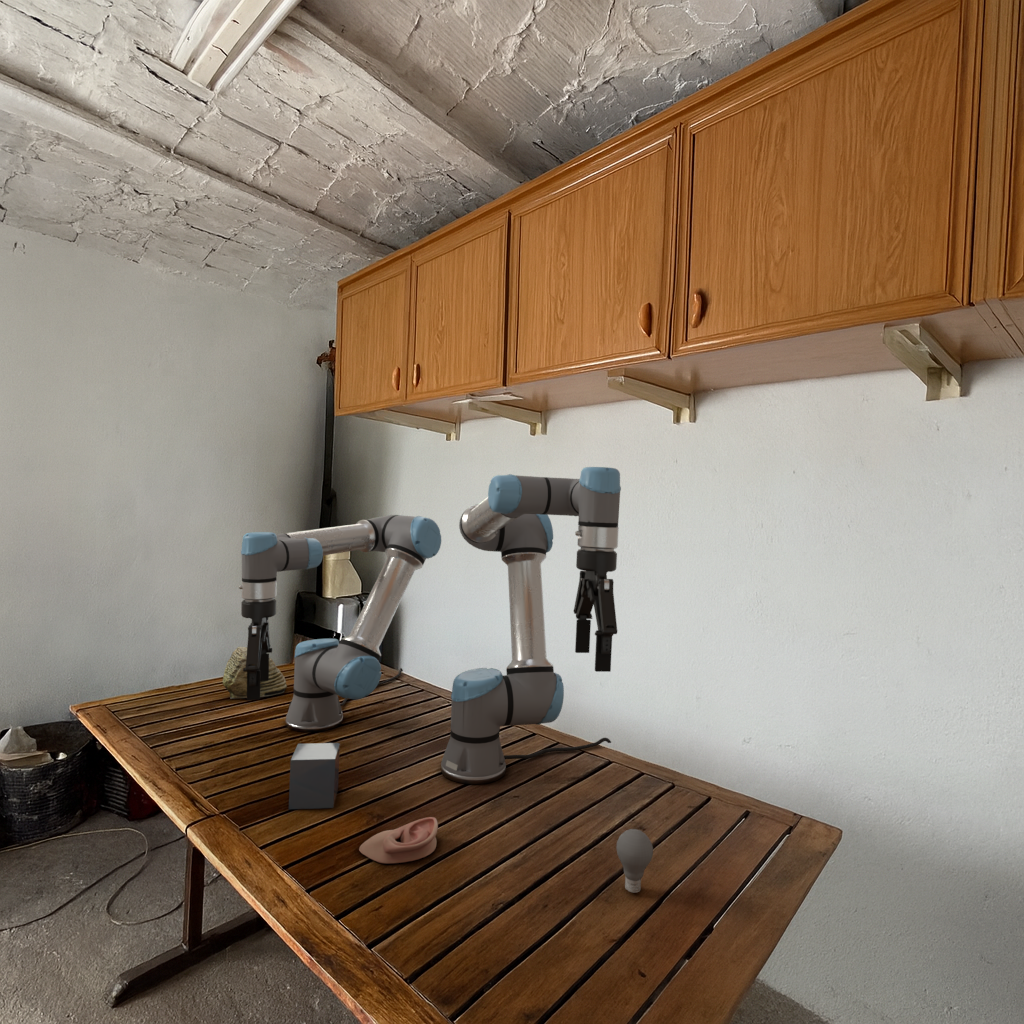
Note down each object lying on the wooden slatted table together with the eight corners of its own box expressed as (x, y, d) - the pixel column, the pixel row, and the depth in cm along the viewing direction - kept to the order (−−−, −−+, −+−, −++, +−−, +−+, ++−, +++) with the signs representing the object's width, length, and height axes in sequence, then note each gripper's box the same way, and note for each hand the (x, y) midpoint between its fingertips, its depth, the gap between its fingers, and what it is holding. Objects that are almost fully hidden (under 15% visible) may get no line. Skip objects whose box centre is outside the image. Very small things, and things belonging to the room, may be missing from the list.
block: (296, 790, 136) (297, 743, 136) (338, 788, 138) (339, 742, 137) (288, 809, 128) (290, 759, 128) (333, 808, 129) (335, 759, 129)
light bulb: (610, 879, 108) (613, 822, 108) (644, 879, 109) (647, 822, 109) (619, 902, 102) (622, 840, 102) (655, 901, 103) (658, 840, 103)
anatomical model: (352, 836, 111) (378, 805, 123) (351, 858, 111) (377, 826, 123) (423, 847, 109) (444, 815, 120) (422, 870, 109) (443, 836, 120)
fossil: (218, 695, 195) (220, 647, 195) (278, 685, 208) (279, 640, 207) (228, 703, 189) (230, 653, 188) (289, 692, 201) (290, 645, 201)
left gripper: (250, 590, 158) (250, 674, 159) (230, 610, 134) (230, 709, 134) (282, 589, 160) (281, 673, 160) (268, 609, 135) (267, 707, 136)
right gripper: (562, 543, 131) (557, 645, 131) (597, 554, 106) (591, 680, 107) (597, 544, 132) (592, 645, 133) (639, 556, 108) (633, 680, 108)
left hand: (258, 689), depth 147 cm, fingers open, 13 cm apart
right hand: (591, 661), depth 120 cm, fingers open, 13 cm apart
